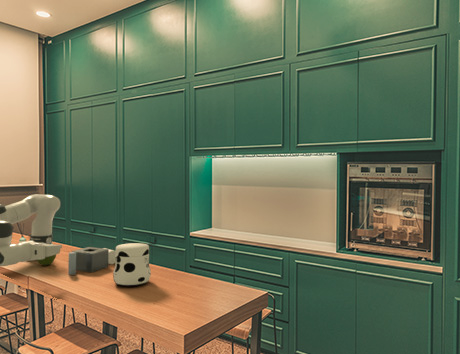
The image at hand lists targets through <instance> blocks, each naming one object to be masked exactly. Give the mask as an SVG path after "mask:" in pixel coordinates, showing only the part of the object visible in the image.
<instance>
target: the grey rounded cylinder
mask: <svg viewBox="0 0 460 354" xmlns="http://www.w3.org/2000/svg"><path fill="white" fill-rule="evenodd" d="M67 264H68V267H67V269H68V271H67V272H68V273H67V274H68V275H69V276H75V275H76V274H77V270H76V252H72V251H71V252H68V261H67Z"/></svg>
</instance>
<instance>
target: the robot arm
mask: <svg viewBox="0 0 460 354" xmlns="http://www.w3.org/2000/svg"><path fill="white" fill-rule="evenodd" d="M60 208H61V200H60V198H58V197H57V196H55V195H52V194H40V193H39V194H38V193H35V194H30V195H28V196H27V197H26V198H23V199H22V200H20V201H17V202H13V203H10V204H8V205H4V204H2V203H0V267H8V266H13V265H16V264H18V263H25V262H30V261H31V262H32V261H37V260H41V259H45V257H49V256H53V255H56V256H57V255H58V254H60V252H61V249H62V248H63V247H62V246H63V245H62V244H54V243H53V239H54V238H53V237H54V236H53V233H52V232H53V222H54V221H53V219H54V217H55V215H56V213H57V211H59V209H60ZM34 214H36V216H35V219H34V220H33V221H32V222H31V235H29V236H28V237H27V238H28V239H29V240H26V241H21V242H18V243H12V238H13V232H14V225H13V224H18V223H19V222H22V221H25V220H27V219H29V218H31V216H32V215H34Z"/></svg>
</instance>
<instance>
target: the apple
mask: <svg viewBox="0 0 460 354" xmlns="http://www.w3.org/2000/svg"><path fill="white" fill-rule="evenodd" d="M56 257H57V254H56V255H53V256H49V257H45V259H41V260H36V262H38V264H40V265H41V266H50V265H51V264H53V263H54V261H55V259H56Z"/></svg>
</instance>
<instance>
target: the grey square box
mask: <svg viewBox="0 0 460 354" xmlns="http://www.w3.org/2000/svg"><path fill="white" fill-rule="evenodd" d="M103 248H104V247H103ZM103 248H100V247H91V246H87V247H83V248H80V249H75V250H71V252H76V272H77V271H79V272H85V273H95V272H97V271H100V270H103V269H106V268H109V264H108V254H109V248H106V249H103Z"/></svg>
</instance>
